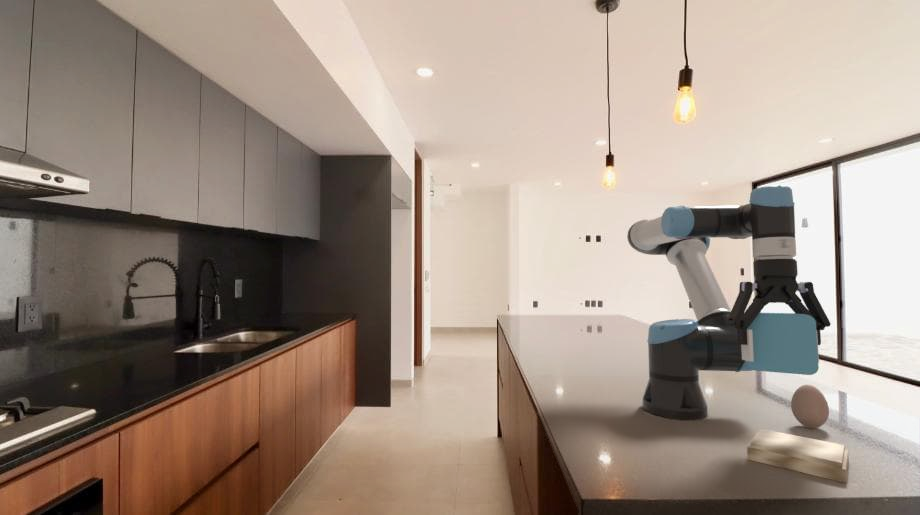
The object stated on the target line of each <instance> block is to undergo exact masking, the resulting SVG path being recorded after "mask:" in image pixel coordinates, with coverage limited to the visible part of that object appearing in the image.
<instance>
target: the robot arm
mask: <svg viewBox="0 0 920 515" xmlns="http://www.w3.org/2000/svg"><path fill="white" fill-rule="evenodd" d="M748 200H749V201H748V202H749V203H746V204H742V205H707V206H705V205H703V206H699V205H698V206H697V205H695V206H693V205H692V206H685V205H678V206H669V207H667V208H665V210H664V211H663V213H662V216H658V217H655V218H653V219H641V220H638V221H636V222H634V223H633V224H632V225H631V226H630V228H628V231H627V235H626V236H627V241H628V244H629V245H630V246H631V248H632V249H633V250H635V251H636V252H638V253H641V254H645V255H652V256H654V255H655V256H657V255H659V256H661V255H662V256H666V258H667V261H668V262H669V263H670V264H672V266H673V265H674V266H675V268H676V270H677V272H678V276H679V278H680V279H681V282H682V285H683V288H684V290H685V292H686V295H687V298H688V300H689V302H690V306H691V307H692V310H693V312H694V314H695V318H696V319H691V318H681V319H680V318H678V319H667V320H660V321H656V322H653V323H651V324H650V326H649V328H648V333H647V334H648V335H647V343H648V346H647V347H648V382H647V385H646V387H645V390H644V393H643V397H642V409H643V410H644V411H646V412H648V413H650V414H652V415H656V416H660V417H663V418H669V419H670V418H671V419H677V420H699V419H700V420H701V419H705V418H706V417H707V416H708V414H709V413H708V411H709V410H708V404H707V401H706V399H705V396H704V394H703V391H702V388H701V385H700V383H699V382H700V381H699V380H700V379H699V376H700V375H699V371H706V372H707V371H708V372H709V371H711V372H715V371H716V372H736V373H740V372H751V371H753V370H752V369H750V368H749V367H748V366H747V364H746V361H750V362H754V355H753V334H752V330H750V329H747V328H748V327H749V326H750V325H751V323H752V322H753V321H754V319H755V318H756V317H757V315H758V314H759V313H761V312H762V311H763V309H764V307H765V306H767V305H769V303H771V304H773V303H774V304H775V303H776V304H777V303H780V304H785V305H787V306H788V307H789V308H790V309H791V310H792V311H793V313H795V314H806V315H810V316H811V317H813V318H814V319H815V321H816V332H817V349H818V350H819V346H821V343H822V338H821V337H822V336H821V331H824V330H825V328H828V327H830V326H831V321H830V319H829V318H828V316H827V314H826V312H825V310H824V308H823V307H822V305H821V303H820V301H819V299H818V297H817V295H816V293H815V288H814V284H813V282H812V281H800V282H797V277H798V275H799V274H798V273H799V272H798V261H797V260H796V259H795V258H794V257H796V256H797V244H796V242H797V241H796V222H795V221H796V220H795V218H796V216H795V205H796V204H795V202H794V196H793V190H792V188H791V187H790V186H788V185H781V184H779V185H778V184H777V185H776V184H775V185H766V186H765V185H764V186H762V187H757V188H754V189H752V190H751V191H750V195H749V199H748ZM711 238H728V239H732V240H744V239H747V238H751V239H752V241H751V242H752V257H753V258H754V259H756V260H754V261H753V277H754V280H755V281H754V282H752V281H740V282H739V290H738V291H739V292H738V294H737V297H736V299H735V302H734V304H733V305H732V309H731V308H730V306H729V304H728V302H727V299H726V298H725V295H724V293H723V291H722V289H721V287H720V284H719V283H718V281H717V279H716V277H715V274H714V272H713V270H712V268H711V266H710V263H709V261H708V259H707V257H706V255H707V251H708V249H709V248H710V243H711ZM754 291H756V295H755V296H754V297H753V299H752V302H751V304H750V305H749V302H750V300H751V297H752V295H753V292H754ZM797 292H799V295H800V296H798V295H797V294H796V293H797ZM800 297H801V298H800ZM802 301H803V303H802ZM748 305H749V306H748ZM819 358H820V356H819V353H818V363H820V359H819ZM745 360H746V361H745Z"/></svg>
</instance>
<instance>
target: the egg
mask: <svg viewBox="0 0 920 515" xmlns="http://www.w3.org/2000/svg"><path fill="white" fill-rule="evenodd" d="M790 402H791V403H790V408H791V409H790V410H791V413H792V415H793V417H794V418H795V419H796V421H797V422H798V423H800V425H802V426H804V427H805V428H809V429H818V428H820V427H822V426H824V425H825V424H826V422H827V421H828V419H829V415H830V407H829V404H828V401H827V399H826V397H825V396H824V394H823V393H822V391H820V389H819V388H817V387H816V386H815V385H811V384H804V385H801V386H799V387H798V388H796V389H795V391H794V392H793V394H792V397H791V401H790Z"/></svg>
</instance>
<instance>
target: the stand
mask: <svg viewBox="0 0 920 515" xmlns="http://www.w3.org/2000/svg"><path fill="white" fill-rule="evenodd" d="M746 451H747V452H746V453H747V454H746V455H747V457H746V458H747V460H748V461H752V462H757V463H762V464H765V465H768V466H769V465H770V466H774V467H777V468H778V467H779V468H783V469H787V470H790V471H793V472H799V473H804V474H806V475H807V474H808V475H811V476H816V477H820V478H823V479H826V480H831V481H835V482H840V483H844V484H847V482H848V473H849V471H848V470H849V458H850V457H849V449H848V448H845V444H840V443H836V442H830V441H826V440H820V439H816V438H810V437H806V436H805V437H804V436H801V435H795V434H789V433H786V432H780V431H776V430H775V431H774V430H769V429H764V428H760V429H759V431H758V432H757V433H756V434H755V436H754V437H753V439H752V440H751V441H750V443H749V444H748V445H747V447H746Z"/></svg>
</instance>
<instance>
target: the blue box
mask: <svg viewBox="0 0 920 515" xmlns="http://www.w3.org/2000/svg"><path fill="white" fill-rule="evenodd" d="M747 329H750V330H752V334H753V355H754V362H750V361H746V360H745V361H746V364H747V366H748V367H749V368H750V369H752V371H755V372H769V373H781V374H793V375H803V376H812V375H815V374H816V373H817V372H818V371H819V369H820V367H819V362H818V354H819V348H818V349H817V332H816V321H815V319H814V318H813V317H811V316H810V315H806V314H795V312H792V313H788V312H787V313H786V312H760V313H759V314H758V315H757V317H756V318H755V319H754V321H753V322H752V323H751V325H750V326H749V327H748V328H747Z"/></svg>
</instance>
